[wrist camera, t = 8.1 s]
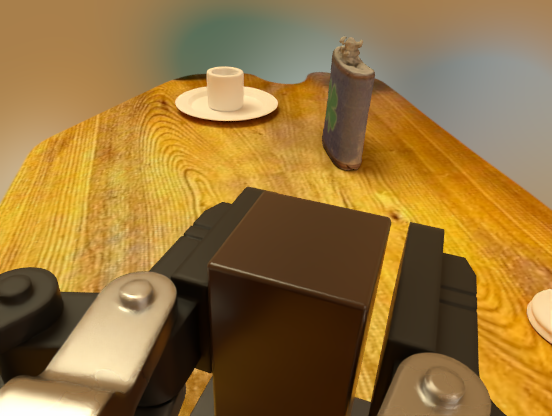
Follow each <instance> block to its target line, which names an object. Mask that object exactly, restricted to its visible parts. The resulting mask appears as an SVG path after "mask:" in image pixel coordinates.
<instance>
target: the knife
mask: <svg viewBox="0 0 552 416" xmlns="http://www.w3.org/2000/svg"><path fill="white" fill-rule="evenodd" d="M390 226H391V220H390V218H388V217H385V216H380V215H376V214H371V213H366V212H362V211H357V210H352V209H348V208H343V207H338V206H334V205H329V204H324V203H320V202H315V201H311V200H306V199H301V198H297V197H292V196H287V195H283V194H278V193H273V192H269V191H264V192H263V193H262V194H261V195H260V197H259V198H258V199H257V201H256V202H255V203H254V204H253V206H252V207H251V208H250V210H249V211H248V212H247V213H246V215H245V216H244V217H243V219H242V220H241V221H240V223H239V224H238V225H237V226H236V228H235V229H234V230H233V232H232V233H231V234H230V236H229V237H228V238H227V239H226V241H225V242H224V243H223V245H222V246H221V247H220V248H219V250H218V251H217V252H216V254H215V255H214V256H213V258H212V259H211V260H210V261H209V263H208V265H207V277H208V297H209V316H210V336H211V355H212V374H213V394H214V413H215V416H351V412H352V407H353V402H354V397H355V393H356V388H357V383H358V378H359V374H360V369H361V364H362V359H363V355H364V350H365V345H366V340H367V336H368V331H369V326H370V321H371V317H372V312H373V307H374V302H375V298H376V293H377V288H378V283H379V279H380V274H381V269H382V264H383V260H384V255H385V250H386V245H387V241H388V236H389V231H390Z"/></svg>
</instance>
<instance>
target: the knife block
mask: <svg viewBox="0 0 552 416" xmlns="http://www.w3.org/2000/svg"><path fill="white" fill-rule="evenodd" d="M370 404H371V402H369V401H365V400H362V399H359V398H356V397H354V402H353V407H352V412H351V416H368V414H369V409H370ZM190 416H215V413H214V394H213V376H212V377H211V379H210V381H209V383H208V384H207V386H206V388H205V390H204V391H203V393H202V395H201V397H200V398H199V400H198V402H197V404H196V405H195V407H194V409H193V411H192V413H191V414H190Z"/></svg>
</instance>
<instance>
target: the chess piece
mask: <svg viewBox="0 0 552 416" xmlns="http://www.w3.org/2000/svg"><path fill="white" fill-rule="evenodd" d="M527 316H528V319H529V321H530V323H531V324H532V326H533V327H534V329H535V330H536V331H537V332H538V333H539V334H540V335H541V336H542V337H543V338H545V339H546V340H547V341H548V342H550V343H551V344H552V289H548V290H544V291H541V292H539V293H537V294H536V295H535V296H534V297H533V299H532V301H531V302H530V303H529V304H528V307H527Z"/></svg>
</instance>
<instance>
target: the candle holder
mask: <svg viewBox="0 0 552 416" xmlns="http://www.w3.org/2000/svg"><path fill="white" fill-rule="evenodd" d="M175 104H176V106H177V108H178V109H179V110H181V111H182V112H184V113H186V114H188V115H191V116H194V117H198V118H202V119H208V120H217V121H239V120H248V119H253V118H258V117H261V116H264V115H267V114H269V113H271V112H272V111H274V110H275V109H276V108H277V106H278V101H277V100H276V98H275V97H274V96H272V95H271V94H269V93H267V92H264V91H262V90H259V89H255V88H250V87H244V74H243V71H242V70H240V69H238V68H234V67H215V68H211V69H209V70H208V71H207V87H202V88H197V89H193V90H190V91H187V92H185V93H183V94H181V95H180V96H179V97H178V98H177V99H176V101H175Z"/></svg>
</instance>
